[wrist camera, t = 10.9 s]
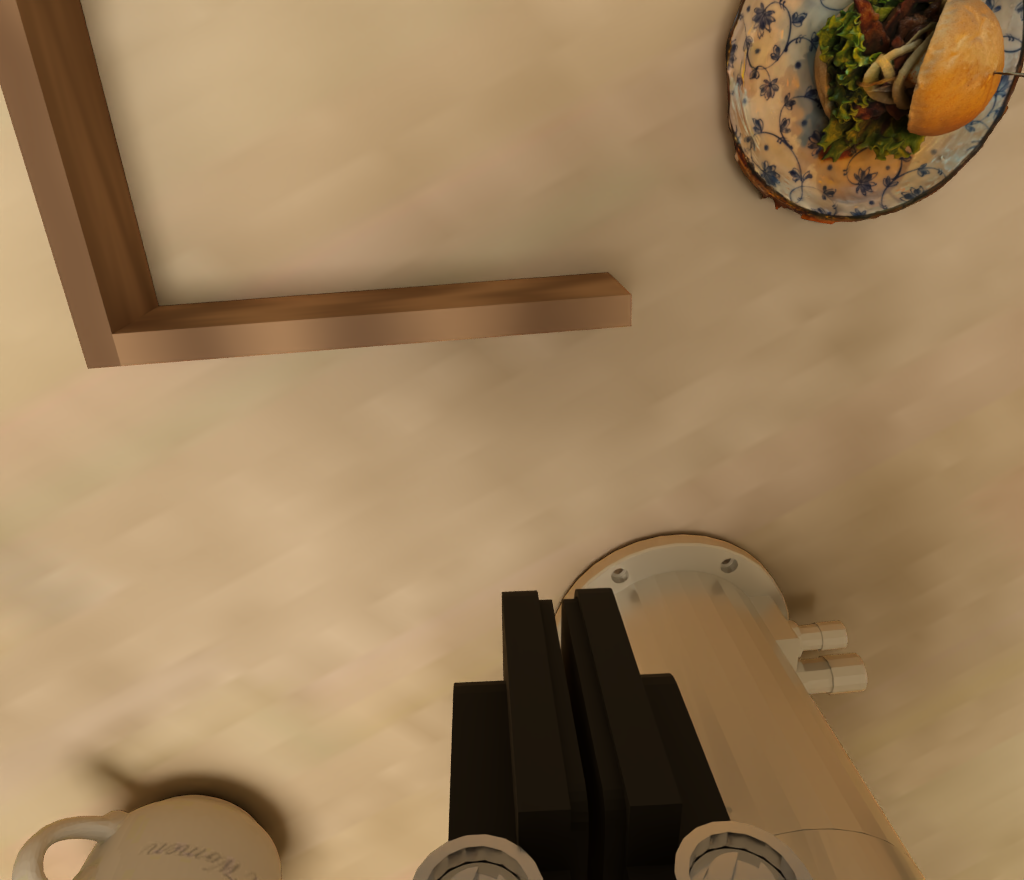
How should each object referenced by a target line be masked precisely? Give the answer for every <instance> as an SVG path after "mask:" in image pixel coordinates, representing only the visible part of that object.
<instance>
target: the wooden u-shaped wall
mask: <svg viewBox="0 0 1024 880" xmlns="http://www.w3.org/2000/svg"><path fill="white" fill-rule="evenodd" d="M0 85H1V88H2V91H3V95H4V98H5V101H6V104H7V108H8V111H9V114H10V117H11V121H12V124H13V127H14V130H15V133H16V137H17V140H18V143H19V146H20V150H21V153H22V156H23V159H24V163H25V166H26V169H27V172H28V176H29V179H30V182H31V185H32V189H33V192H34V195H35V198H36V202H37V205H38V208H39V211H40V215H41V218H42V221H43V224H44V228H45V231H46V234H47V237H48V241H49V244H50V247H51V250H52V254H53V257H54V260H55V263H56V267H57V270H58V273H59V276H60V280H61V283H62V286H63V289H64V293H65V296H66V299H67V302H68V306H69V309H70V312H71V315H72V318H73V322H74V325H75V328H76V331H77V335H78V338H79V341H80V344H81V348H82V351H83V354H84V357H85V361H86V364H87V367H88V369H89V368H102V367H115V366H127V365H140V364H153V363H166V362H179V361H191V360H204V359H217V358H230V357H243V356H255V355H268V354H281V353H294V352H307V351H319V350H332V349H345V348H358V347H370V346H383V345H396V344H409V343H422V342H434V341H447V340H460V339H473V338H486V337H498V336H511V335H524V334H537V333H549V332H562V331H575V330H588V329H601V328H613V327H626V326H631V311H632V295H631V294H630V293H629V292H628V291H627V290H626V289H625V288H624V287H623V286H622V285H621V284H620V283H619V282H618V281H617V280H616V279H615V278H614V277H613V276H612V275H610V274H609V273H608V272H606V273H593V274H580V275H566V276H553V277H540V278H526V279H513V280H500V281H486V282H473V283H460V284H446V285H433V286H420V287H406V288H393V289H380V290H366V291H353V292H340V293H326V294H313V295H300V296H286V297H273V298H259V299H246V300H233V301H219V302H206V303H193V304H179V305H166V306H158V302H157V298H156V294H155V290H154V286H153V283H152V279H151V275H150V271H149V267H148V263H147V259H146V255H145V252H144V248H143V244H142V240H141V236H140V232H139V228H138V224H137V221H136V217H135V213H134V209H133V205H132V201H131V197H130V193H129V189H128V186H127V182H126V178H125V174H124V170H123V166H122V162H121V158H120V155H119V151H118V147H117V143H116V139H115V135H114V131H113V127H112V124H111V120H110V116H109V112H108V108H107V104H106V100H105V96H104V93H103V89H102V85H101V81H100V77H99V73H98V69H97V65H96V62H95V58H94V54H93V50H92V46H91V42H90V38H89V34H88V31H87V27H86V23H85V19H84V15H83V11H82V7H81V3H80V0H0Z"/></svg>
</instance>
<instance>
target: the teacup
mask: <svg viewBox="0 0 1024 880" xmlns="http://www.w3.org/2000/svg"><path fill="white" fill-rule="evenodd" d="M66 839H89V840H95V841H97V843H96V845H95V846H94V848H93V850H92V851H91V853H90V854H89V856H88V858H87V859H86V861H85V863H84V865H83V866H82V868H81V870H80V872H79V873H78V874H77V875H76V876H75V877H74V878H73V880H281V879H282V874H281V862H280V858H279V854H278V851H277V849H276V846H275V844H274V843H273V841H272V839H271V838H270V836H269V835H268V833H267V832H266V831H265V830H264V829H263V828H262V827H261V826H260V825H259V824H258V823H257V822H256V821H255V820H254V818H252V817H251V816H250V815H249V814H248V813H247V812H246V811H244V810H243V809H241V808H240V807H238V806H236V805H234V804H233V803H231V802H228V801H226V800H223V799H219V798H215V797H210V796H204V795H184V796H177V797H172V798H169V799H165V800H163V801H159V802H154V803H151V804H148V805H145V806H143V807H140V808H138V809H136V810H134V811H132V812H130V813H127V812H124V811H122V810H116V811H111V812H109V813H107V814H106V815H104V816H77V817H71V818H65V819H62V820H58V821H55V822H53V823H51V824H49V825H47V826H45V827H43V828H42V829H41V830H39V831H38V832H37V833H35V834H34V835H33V836H32V837H31V838H30V839H29V840H28V841H27V842H26V843H25V844H24V846H23V847H22V848H21V850H20V851H19V853H18V855H17V858H16V861H15V863H14V867H13V873H12V880H48V879H47V878H46V876H45V874H44V872H43V859H44V855H45V853H46V850H47V849H48V848H49V847H50V846H51V845H52V844H54V843H56V842H58V841H62V840H66Z"/></svg>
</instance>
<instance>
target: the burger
mask: <svg viewBox="0 0 1024 880" xmlns="http://www.w3.org/2000/svg"><path fill="white" fill-rule="evenodd" d="M1023 62H1024V0H742V3H741V5H740V8H739V10H738V13H737V15H736V18H735V20H734V23H733V25H732V28H731V30H730V33H729V37H728V41H727V45H726V67H727V68H726V70H727V85H728V123H729V129H730V131H731V132H732V134H733V139H734V143H735V148H736V154H735V159H736V161H737V162H738V164H739V166H740V167H741V169H742V171H743V173H744V175H745V176H746V177H747V178H748V179H749V180H750V181H751V182H752V183H753V184H754V185H755V186H756V188H757V189H758V190H759V191H760V192H761V193H762V194H763V195H764V196H763V197H762V198H767V197H772V198H773V200H774V202H775V207H776V209H778V208H780V207H781V206H782V207H783V208H789V209H791V210H793V211H795V212H797V213H799V214H802V216H801V218H802V219H806V220H811V221H816V222H820V223H827V224H833V223H835V222H853V221H855V222H856V221H861V220H865V219H874V218H877V217H879V216H881V215H886V214H889V213H894V212H897V211H899V210H902V209H904V208H906V207H908V206H910V205H912V204H915V203H917V202H919V201H921V200H922V199H924V198H926V197H928V196H929V195H932V194H933V193H934V192H936V191H937V190H939V189H940V188H941V187H943V186H944V185H945V184H946V183H947V182H948V181H949V180H950V179H952V177H953V176H955V175H956V174H957V172H958V171H959V170H960V169H961V168H963V167H964V166H965V165H966V163H967V162H968V161H969V160H970V159H971V158H972V157H973V156H975V155H976V153H977V152H978V151H979V150H980V149H981V148H982V147H983V145H984V143H985V141H986V140H987V138H988V136H989V135H990V134H991V133H992V131H993V129H994V128H995V126H996V125H997V123H998V122H999V121H1000V120H1001V118H1002V116H1003V115H1004V114H1005V113H1006V111H1007V109H1008V106H1007V104H1008V102H1009V100H1010V97H1011V95H1012V93H1013V91H1014V89H1015V86H1016V83H1017V81H1018V78H1019V77H1024V73H1021V71H1022V67H1023ZM762 198H761V199H762Z"/></svg>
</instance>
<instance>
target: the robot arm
mask: <svg viewBox="0 0 1024 880" xmlns="http://www.w3.org/2000/svg"><path fill="white" fill-rule="evenodd" d="M502 630H503V677H504V681H485V682H463V683H454V690H453V719H452V749H451V779H450V809H449V839H448V842H446V843H445V844H443V845H442V846H440V847H439V848H437V849H436V850H434V851H433V852H432V853H430V854H429V855H428V857H427V858H426V859H425V860H424V861H423V863H422V864H421V865H420V866H419V868H418V869H417V871H416V873H415V875H414V878H413V880H925V878H924V877H923V875H922V873H921V872H920V870H919V869H918V867H917V866H916V864H915V863H914V861H913V859H912V858H911V856H910V855H909V853H908V851H907V850H906V848H905V847H904V845H903V843H902V842H901V840H900V839H899V837H898V835H897V834H896V832H895V831H894V829H893V827H892V826H891V824H890V823H889V821H888V819H887V818H886V816H885V815H884V813H883V811H882V810H881V808H880V806H879V805H878V803H877V802H876V800H875V798H874V797H873V795H872V794H871V792H870V790H869V789H868V787H867V786H866V784H865V782H864V781H863V779H862V778H861V776H860V774H859V773H858V771H857V770H856V768H855V766H854V765H853V763H852V762H851V760H850V758H849V757H848V755H847V754H846V752H845V750H844V749H843V747H842V746H841V744H840V742H839V741H838V739H837V738H836V736H835V734H834V733H833V731H832V730H831V728H830V726H829V725H828V723H827V722H826V720H825V718H824V717H823V715H822V714H821V712H820V710H819V709H818V707H817V706H816V704H815V702H814V701H813V699H812V698H811V696H810V694H815V693H825V692H826V693H827V694H829V695H830V694H840V693H850V692H860V691H864V690H865V689H866V687H867V683H868V681H867V672H866V668H865V665H864V663H863V661H862V659H861V657H860V656H859V655H857V654H856V653H846V654H836V655H826V656H819V657H818V658H813V659H803V660H800V659H799V657H801V655H802V652H803V651H808V650H818V651H822V650H832V649H842V648H846V646H847V644H848V636H847V632H846V629H845V627H844V625H843V623H842V622H840V621H828V622H818V623H813V624H811V625H801V626H797V624H796V623H795V622H794V621H791V620H790V621H789V612H788V609H787V606H786V603H785V599H784V596H783V594H782V592H781V591H780V589H779V587H778V586H777V584H776V582H775V581H774V579H773V578H772V576H771V575H770V574H769V573H768V571H767V570H766V569H765V568H764V566H763V565H762V564H761V563H760V562H759V561H758V560H756V559H755V558H754V557H753V556H751V555H750V554H749V553H747V552H746V551H745V550H743V549H741V548H739V547H737V546H734V545H732V544H730V543H728V542H726V541H722V540H718V539H715V538H711V537H707V536H698V535H686V534H680V535H669V536H658V537H655V538H651V539H647V540H643V541H639V542H635V543H633V544H631V545H628V546H626V547H624V548H622V549H619V550H617V551H615V552H613V553H611V554H610V555H608V556H607V557H605V558H604V559H602V560H600V561H599V562H597V563H596V564H594V565H593V566H592V567H591V568H590V569H589V570H588V571H587V572H585V573H584V574H583V575H582V576H581V577H580V578H579V579H578V580H577V581H576V582H575V584H574V585H573V586H572V588H571V589H570V590H569V592H568V593H567V594H566V596H565V597H564V599H562V603H561V605H560V607H559V609H558V611H557V613H556V615H555V614H554V609H553V604H552V600H539V598H538V592H537V591H513V592H502Z"/></svg>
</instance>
